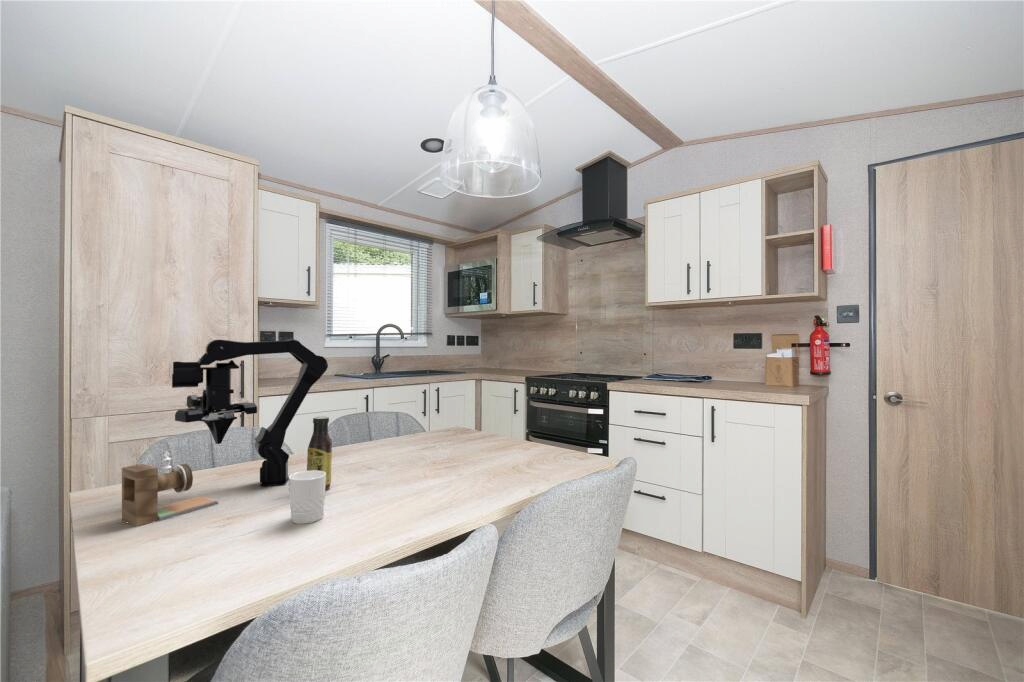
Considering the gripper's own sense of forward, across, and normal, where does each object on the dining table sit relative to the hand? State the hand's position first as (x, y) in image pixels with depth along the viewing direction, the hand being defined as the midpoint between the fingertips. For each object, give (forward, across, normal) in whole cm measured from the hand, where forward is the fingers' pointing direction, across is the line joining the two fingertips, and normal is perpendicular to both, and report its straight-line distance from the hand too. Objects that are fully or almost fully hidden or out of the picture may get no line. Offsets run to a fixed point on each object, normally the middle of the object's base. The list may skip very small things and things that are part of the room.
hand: (218, 443), depth 127 cm
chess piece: (+13, +5, -16) cm, 22 cm away
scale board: (+13, +12, +6) cm, 18 cm away
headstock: (+13, +20, +6) cm, 25 cm away
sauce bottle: (+13, -15, +22) cm, 30 cm away
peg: (+9, +15, +6) cm, 18 cm away
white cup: (+13, +1, +38) cm, 40 cm away
